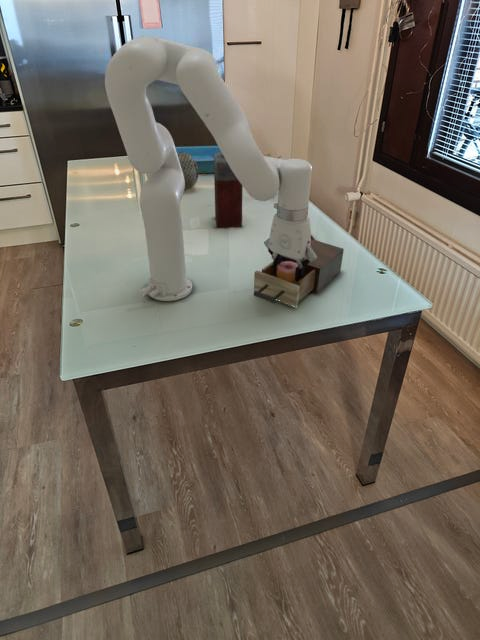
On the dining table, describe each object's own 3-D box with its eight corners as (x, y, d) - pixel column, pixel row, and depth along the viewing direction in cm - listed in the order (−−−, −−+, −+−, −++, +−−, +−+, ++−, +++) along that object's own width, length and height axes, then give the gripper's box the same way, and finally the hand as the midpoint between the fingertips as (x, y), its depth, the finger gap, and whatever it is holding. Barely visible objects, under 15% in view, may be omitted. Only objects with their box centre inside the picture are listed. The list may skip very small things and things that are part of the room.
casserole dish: (152, 177, 205) (150, 161, 201) (153, 161, 223) (152, 146, 219) (235, 174, 209) (235, 158, 204) (230, 159, 227) (230, 144, 222)
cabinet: (317, 294, 128) (320, 268, 123) (272, 278, 135) (274, 253, 130) (340, 272, 138) (343, 248, 133) (297, 259, 145) (299, 235, 140)
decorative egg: (194, 195, 188) (192, 157, 179) (167, 193, 190) (163, 155, 181) (201, 185, 197) (200, 149, 189) (175, 183, 199) (172, 147, 190)
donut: (303, 275, 126) (304, 265, 124) (291, 284, 122) (292, 274, 120) (284, 268, 129) (284, 259, 127) (272, 277, 125) (273, 267, 123)
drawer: (284, 318, 117) (286, 297, 113) (241, 301, 123) (241, 280, 120) (320, 286, 130) (322, 266, 126) (279, 272, 136) (281, 253, 132)
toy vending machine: (238, 214, 172) (239, 135, 156) (242, 227, 163) (243, 145, 147) (214, 215, 172) (212, 136, 155) (216, 227, 163) (215, 145, 146)
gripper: (255, 208, 116) (253, 271, 127) (316, 225, 108) (309, 291, 119) (271, 199, 121) (268, 260, 132) (330, 215, 113) (323, 278, 124)
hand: (288, 274), depth 125 cm, fingers closed on donut, 6 cm apart
